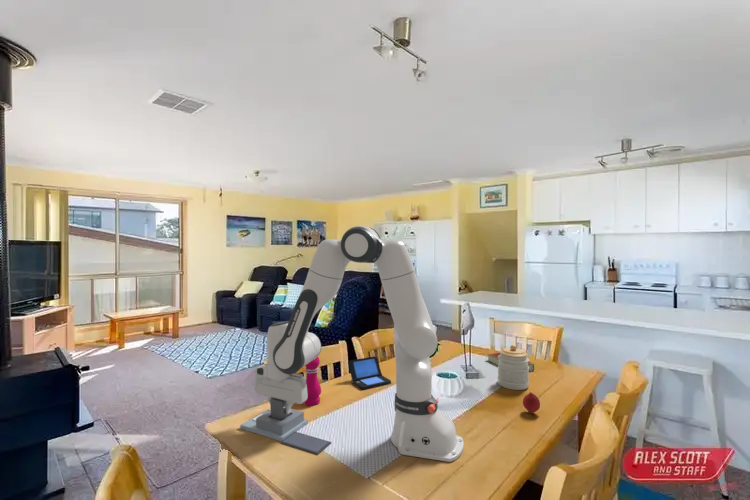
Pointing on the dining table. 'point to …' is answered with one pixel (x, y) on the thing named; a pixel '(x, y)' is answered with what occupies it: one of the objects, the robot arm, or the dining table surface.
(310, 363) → the pepper mill
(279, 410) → the dark grey block
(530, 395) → the onion
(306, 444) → the plate
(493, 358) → the hardcover book
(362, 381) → the handheld game console
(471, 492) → the dining table surface
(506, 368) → the jar
